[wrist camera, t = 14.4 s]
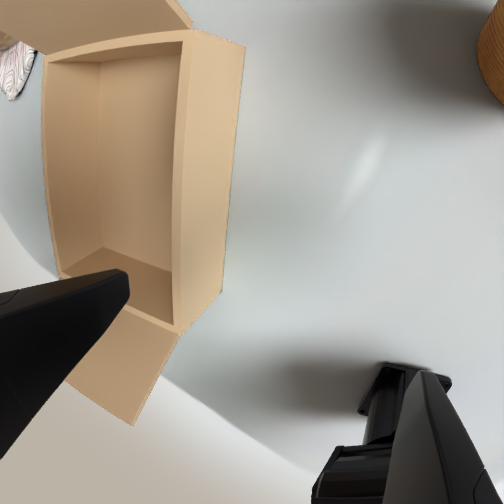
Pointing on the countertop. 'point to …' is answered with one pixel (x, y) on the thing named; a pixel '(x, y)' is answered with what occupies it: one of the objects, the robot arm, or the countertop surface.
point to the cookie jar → (14, 64)
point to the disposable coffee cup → (493, 51)
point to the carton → (143, 165)
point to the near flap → (86, 21)
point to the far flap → (124, 365)
